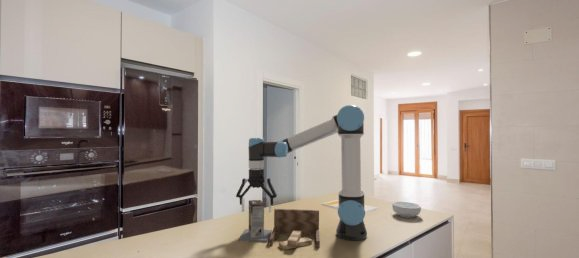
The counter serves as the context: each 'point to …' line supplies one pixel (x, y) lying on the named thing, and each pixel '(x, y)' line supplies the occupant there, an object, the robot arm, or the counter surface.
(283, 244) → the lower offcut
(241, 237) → the slate mat
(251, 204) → the coffee box
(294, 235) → the upper offcut
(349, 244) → the counter surface
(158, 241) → the counter surface
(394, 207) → the cereal bowl
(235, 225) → the counter surface
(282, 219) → the walnut rack
